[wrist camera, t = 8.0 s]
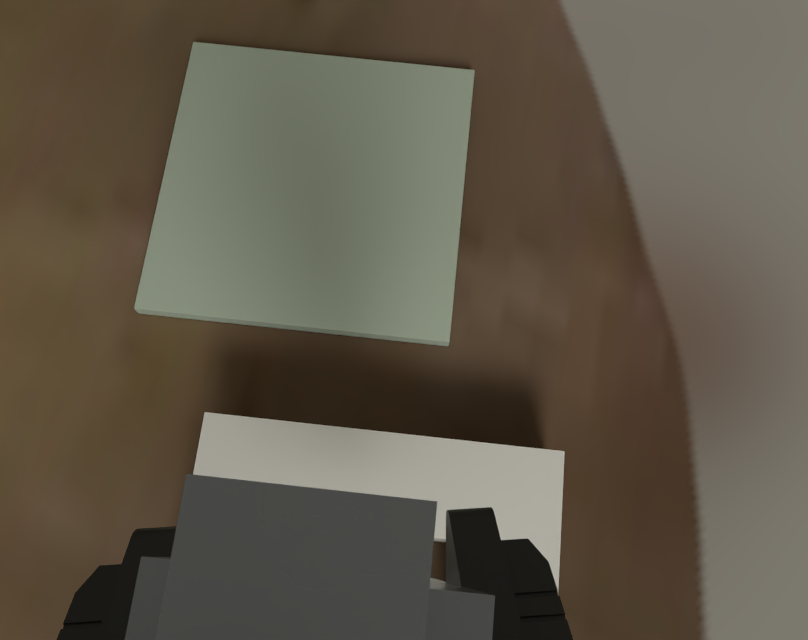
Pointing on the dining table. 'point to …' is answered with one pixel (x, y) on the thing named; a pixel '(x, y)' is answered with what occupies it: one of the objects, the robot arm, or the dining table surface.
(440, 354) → the dining table surface
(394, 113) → the sage mat
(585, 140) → the dining table surface
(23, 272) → the dining table surface
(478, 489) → the key socket
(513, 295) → the dining table surface
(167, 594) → the t-key
